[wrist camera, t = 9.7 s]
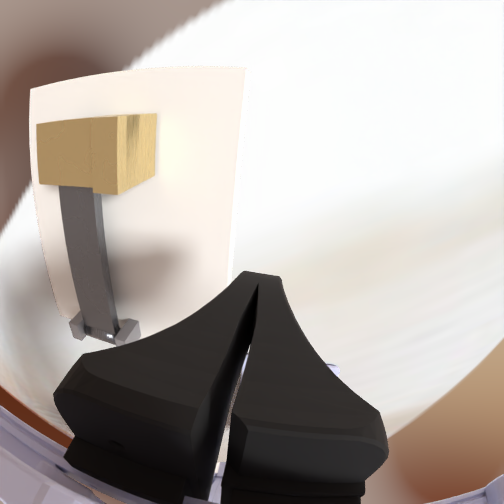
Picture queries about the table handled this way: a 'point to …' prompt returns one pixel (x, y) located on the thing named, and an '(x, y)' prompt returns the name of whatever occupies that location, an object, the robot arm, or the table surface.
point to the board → (155, 192)
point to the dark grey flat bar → (89, 260)
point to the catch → (97, 152)
